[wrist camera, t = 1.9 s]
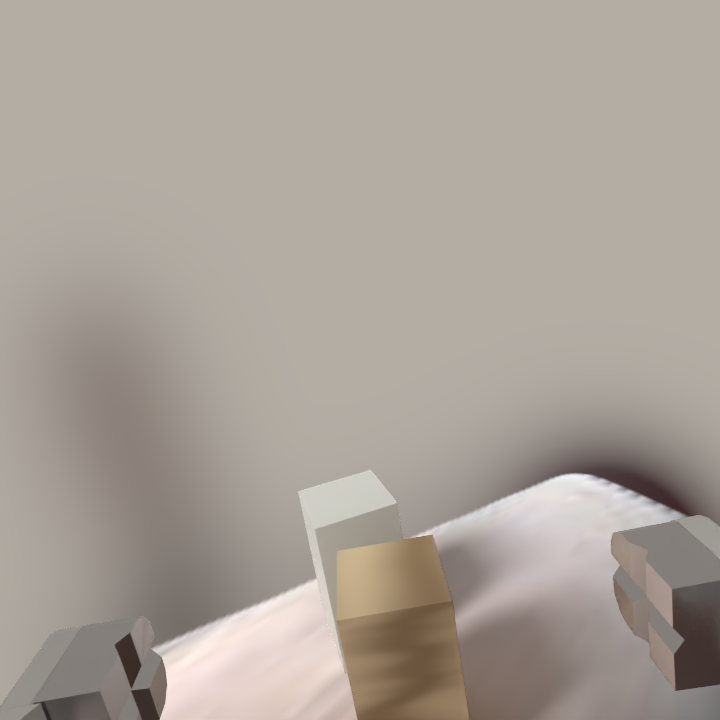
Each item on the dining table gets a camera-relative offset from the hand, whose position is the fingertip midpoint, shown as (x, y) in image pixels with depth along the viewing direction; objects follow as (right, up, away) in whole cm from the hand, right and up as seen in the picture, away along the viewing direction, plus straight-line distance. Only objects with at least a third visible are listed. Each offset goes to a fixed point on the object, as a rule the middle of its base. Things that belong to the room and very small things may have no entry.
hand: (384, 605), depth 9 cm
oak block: (+3, -15, +19) cm, 24 cm away
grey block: (0, -14, +26) cm, 30 cm away
